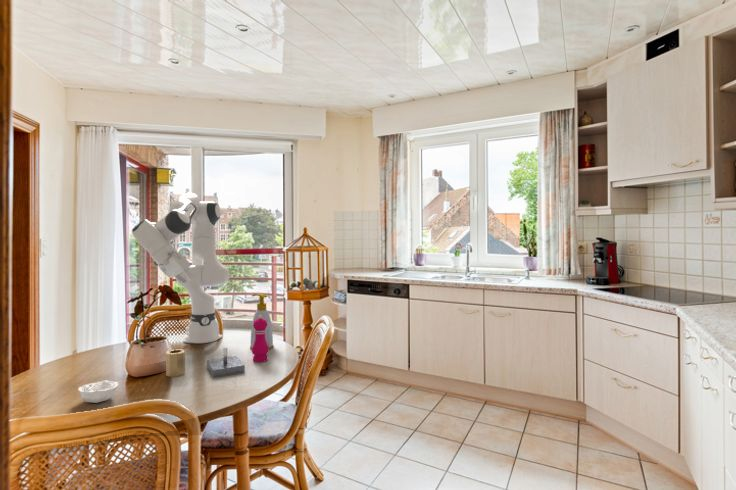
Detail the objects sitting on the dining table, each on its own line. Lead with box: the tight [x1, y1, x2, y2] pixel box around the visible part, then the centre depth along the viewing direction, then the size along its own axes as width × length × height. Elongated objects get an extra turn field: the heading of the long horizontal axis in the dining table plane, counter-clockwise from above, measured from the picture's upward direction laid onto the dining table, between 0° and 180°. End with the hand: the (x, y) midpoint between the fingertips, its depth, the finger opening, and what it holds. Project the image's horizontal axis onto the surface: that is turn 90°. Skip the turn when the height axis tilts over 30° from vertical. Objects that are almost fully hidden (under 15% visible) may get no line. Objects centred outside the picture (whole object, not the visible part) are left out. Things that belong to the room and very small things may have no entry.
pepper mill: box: [251, 315, 270, 363], centre depth 178 cm, size 7×7×20 cm
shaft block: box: [206, 347, 246, 379], centre depth 165 cm, size 14×12×9 cm
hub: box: [165, 348, 186, 378], centre depth 160 cm, size 6×6×9 cm
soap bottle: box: [249, 293, 274, 350], centre depth 196 cm, size 11×12×26 cm
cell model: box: [77, 379, 120, 404], centre depth 135 cm, size 10×12×7 cm
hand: (188, 280), depth 169 cm, fingers open, 8 cm apart
